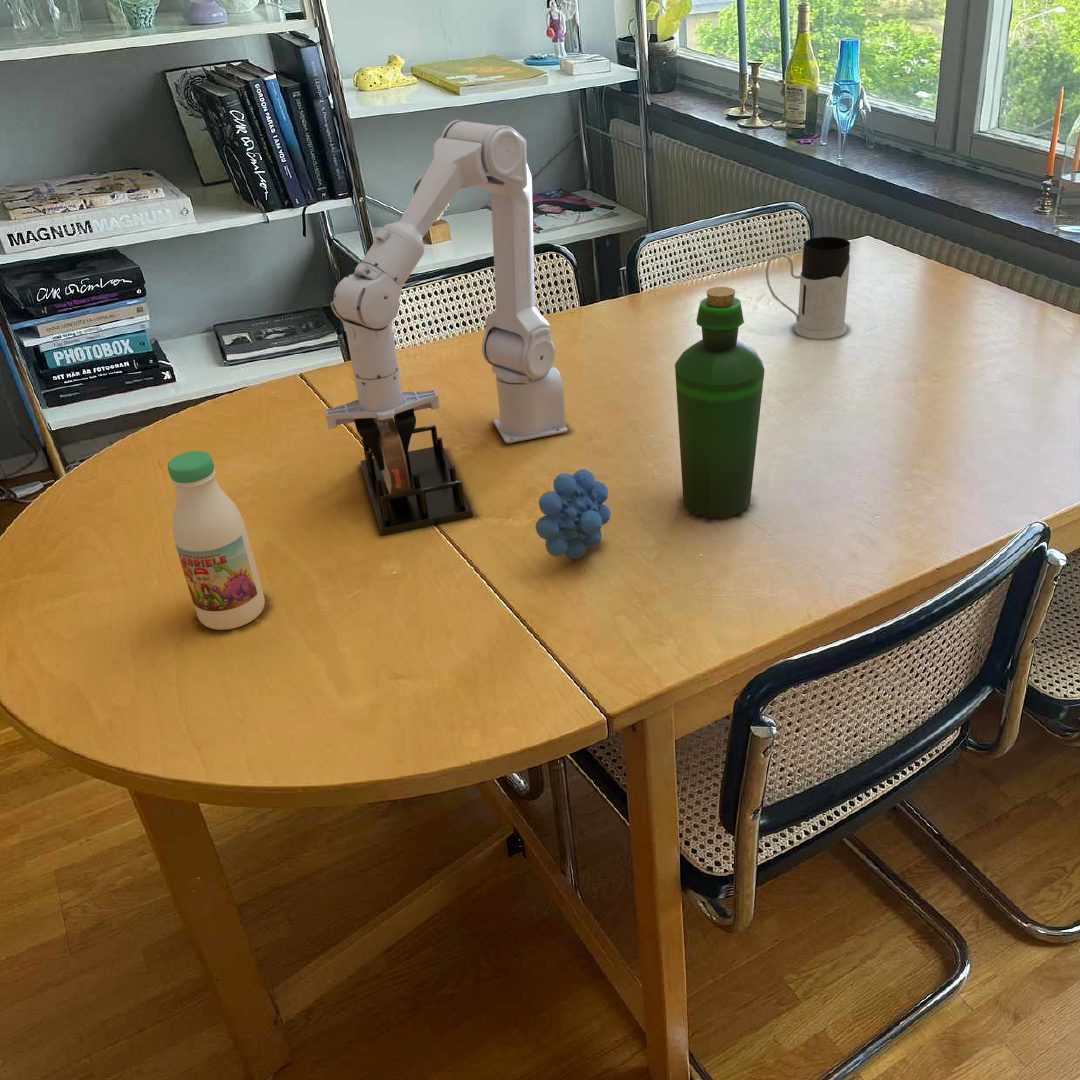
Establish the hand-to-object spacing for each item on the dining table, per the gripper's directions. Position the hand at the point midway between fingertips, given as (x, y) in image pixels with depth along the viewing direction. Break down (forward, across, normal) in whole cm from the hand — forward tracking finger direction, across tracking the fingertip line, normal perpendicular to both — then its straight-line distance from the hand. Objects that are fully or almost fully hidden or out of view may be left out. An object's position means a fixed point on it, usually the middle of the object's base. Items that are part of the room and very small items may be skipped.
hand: (392, 465), depth 138 cm
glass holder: (+5, +76, +29) cm, 82 cm away
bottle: (+5, +38, -19) cm, 43 cm away
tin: (+3, 0, 0) cm, 3 cm away
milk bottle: (+5, -23, -20) cm, 31 cm away
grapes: (+5, +18, -25) cm, 31 cm away
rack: (+4, +2, 0) cm, 5 cm away
